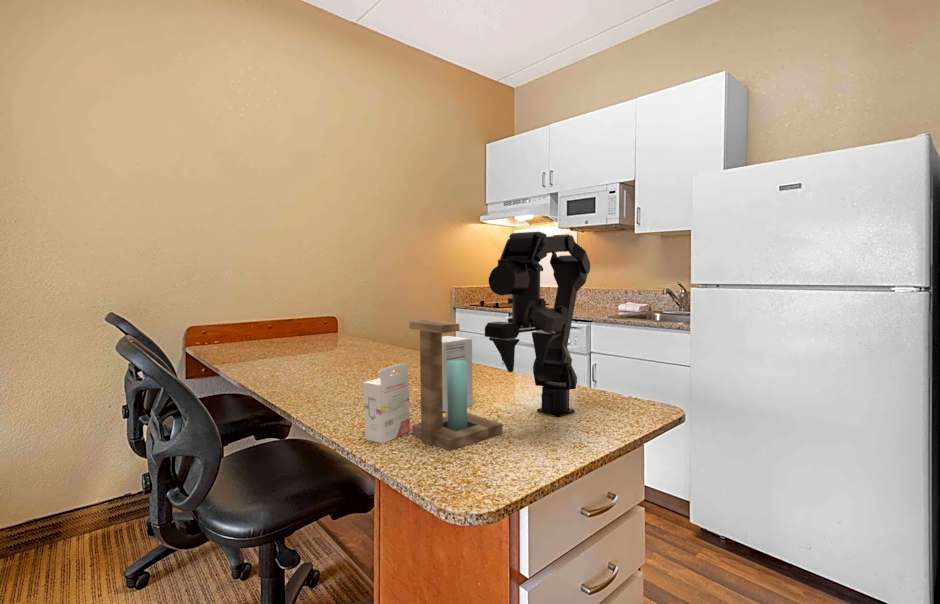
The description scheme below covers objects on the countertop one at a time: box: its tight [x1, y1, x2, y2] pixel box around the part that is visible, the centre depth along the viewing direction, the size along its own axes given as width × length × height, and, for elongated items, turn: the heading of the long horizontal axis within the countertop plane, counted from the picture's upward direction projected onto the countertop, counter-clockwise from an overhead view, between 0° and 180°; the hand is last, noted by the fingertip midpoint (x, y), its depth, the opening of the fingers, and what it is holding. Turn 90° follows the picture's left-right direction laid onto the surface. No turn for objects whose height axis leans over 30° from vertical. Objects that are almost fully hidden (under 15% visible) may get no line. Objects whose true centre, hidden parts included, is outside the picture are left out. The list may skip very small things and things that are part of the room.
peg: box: [446, 360, 468, 431], centre depth 97 cm, size 4×4×15 cm
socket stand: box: [408, 319, 503, 452], centre depth 97 cm, size 15×12×23 cm
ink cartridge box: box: [363, 362, 411, 444], centre depth 97 cm, size 9×5×15 cm, turn 148°
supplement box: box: [442, 335, 474, 413], centre depth 119 cm, size 10×9×17 cm
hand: (525, 368), depth 99 cm, fingers open, 9 cm apart
